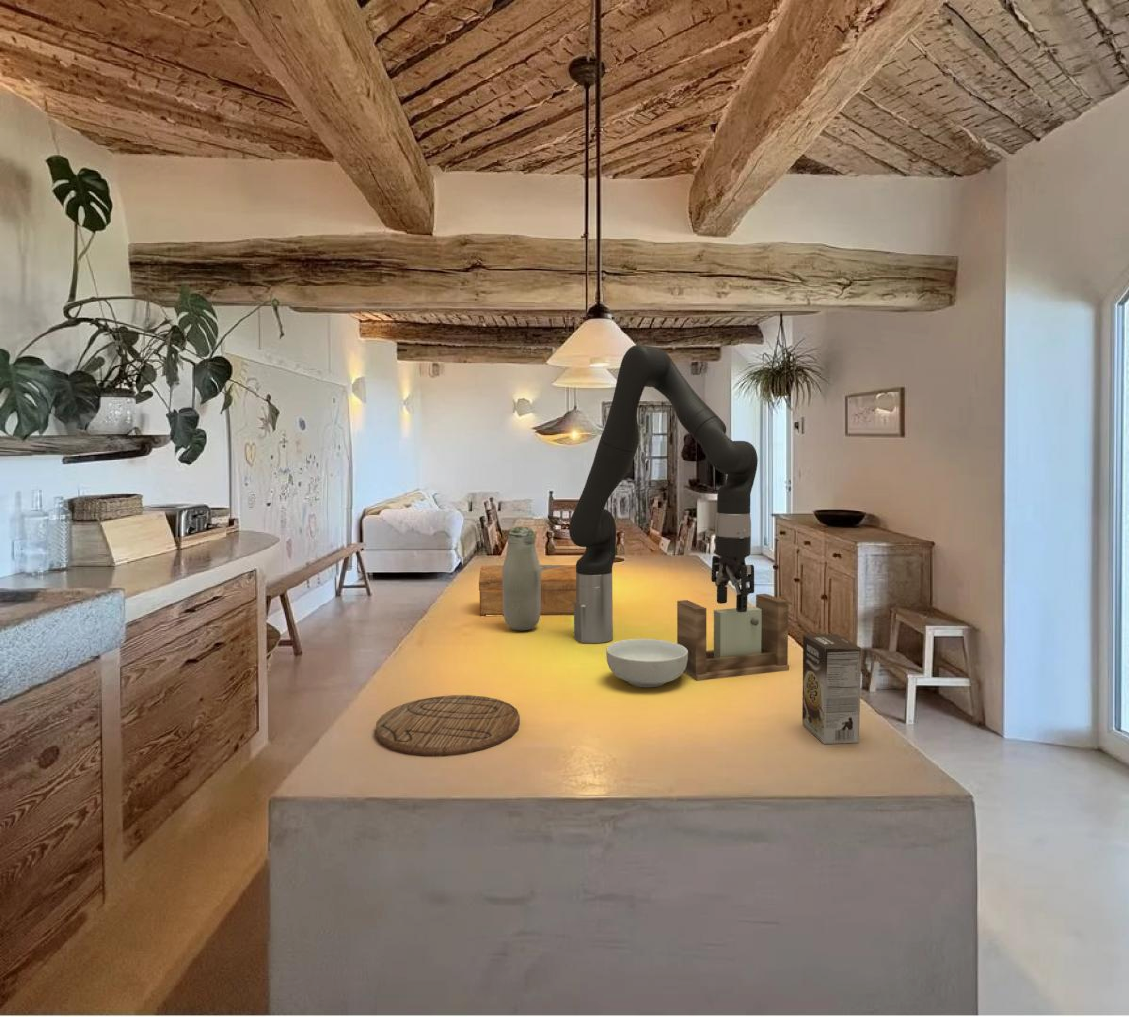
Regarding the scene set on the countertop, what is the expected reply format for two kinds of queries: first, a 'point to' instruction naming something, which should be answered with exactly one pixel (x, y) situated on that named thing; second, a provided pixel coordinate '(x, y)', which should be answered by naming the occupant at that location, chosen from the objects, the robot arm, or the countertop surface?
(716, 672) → the brown wooden stand
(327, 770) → the countertop surface
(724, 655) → the door panel
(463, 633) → the countertop surface
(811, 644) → the coffee box
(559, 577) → the wooden box
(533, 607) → the grey green bottle
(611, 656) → the cereal bowl
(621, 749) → the countertop surface
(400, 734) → the trivet
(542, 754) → the countertop surface
